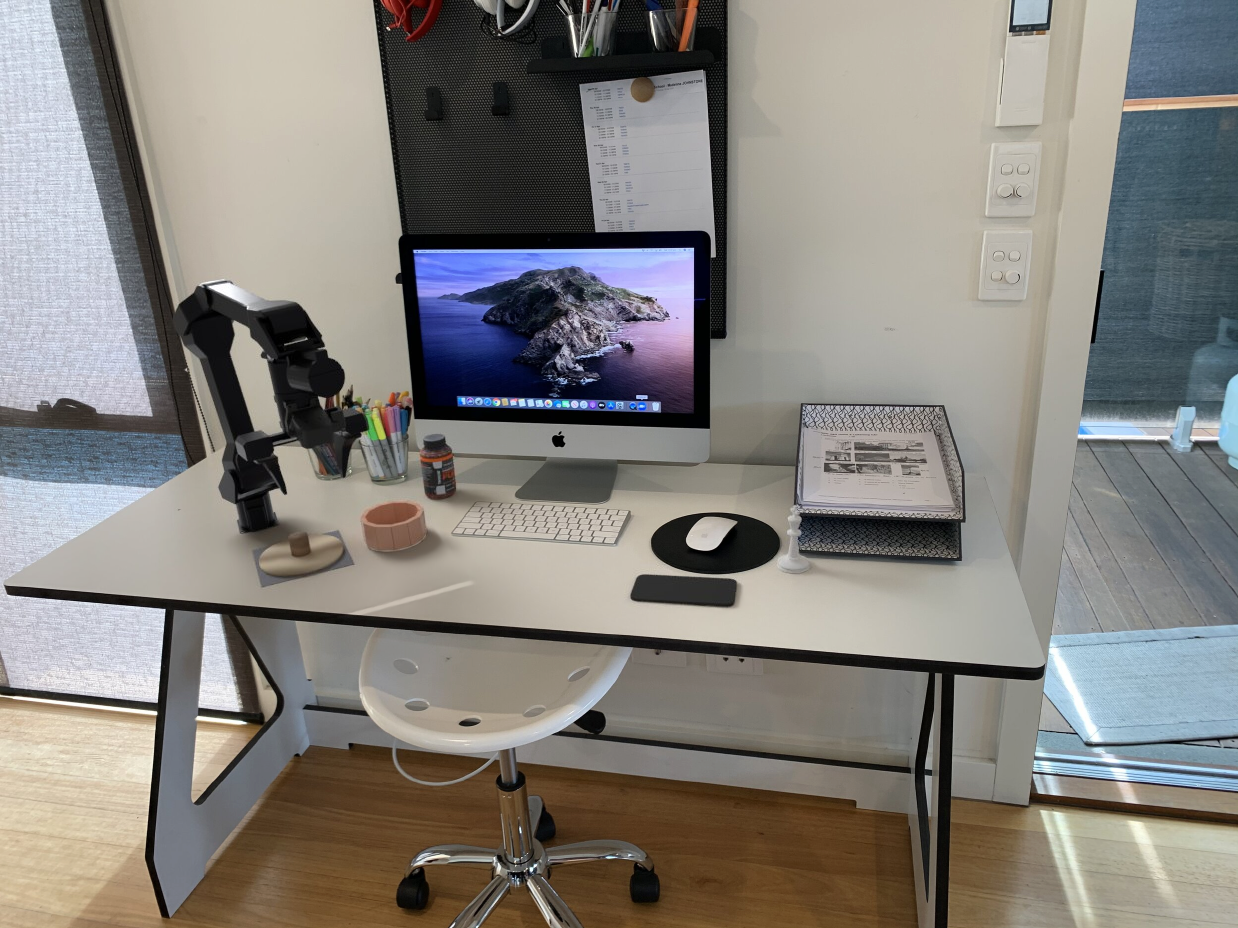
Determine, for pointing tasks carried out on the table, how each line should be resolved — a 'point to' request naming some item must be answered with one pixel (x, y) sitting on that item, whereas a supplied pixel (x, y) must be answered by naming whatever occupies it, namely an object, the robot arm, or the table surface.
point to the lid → (301, 555)
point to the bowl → (393, 525)
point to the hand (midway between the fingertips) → (314, 485)
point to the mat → (270, 580)
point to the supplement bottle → (437, 467)
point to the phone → (684, 590)
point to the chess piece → (793, 548)
